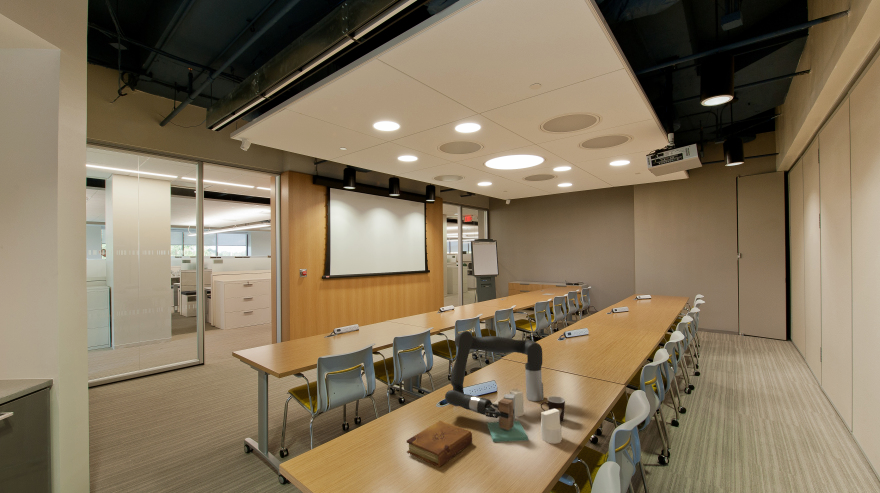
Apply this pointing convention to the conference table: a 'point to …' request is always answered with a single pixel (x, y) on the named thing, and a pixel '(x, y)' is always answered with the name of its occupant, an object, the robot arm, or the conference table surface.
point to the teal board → (507, 432)
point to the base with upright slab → (551, 426)
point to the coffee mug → (556, 405)
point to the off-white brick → (518, 402)
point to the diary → (439, 443)
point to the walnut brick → (506, 407)
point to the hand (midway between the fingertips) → (511, 413)
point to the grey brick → (512, 397)
